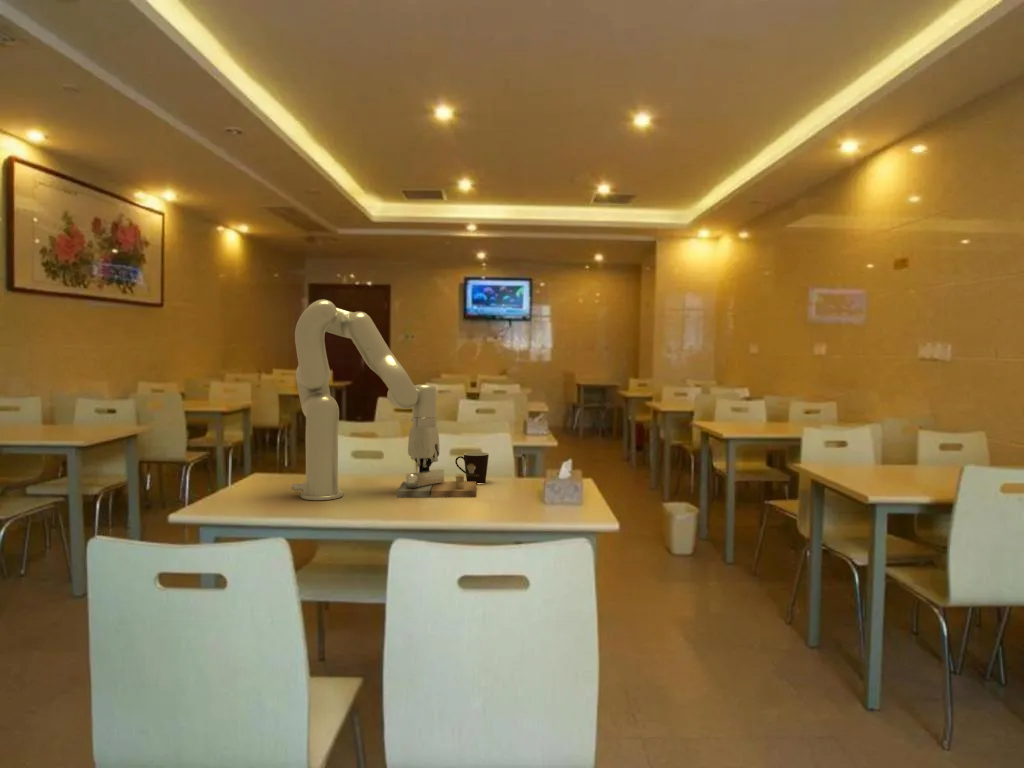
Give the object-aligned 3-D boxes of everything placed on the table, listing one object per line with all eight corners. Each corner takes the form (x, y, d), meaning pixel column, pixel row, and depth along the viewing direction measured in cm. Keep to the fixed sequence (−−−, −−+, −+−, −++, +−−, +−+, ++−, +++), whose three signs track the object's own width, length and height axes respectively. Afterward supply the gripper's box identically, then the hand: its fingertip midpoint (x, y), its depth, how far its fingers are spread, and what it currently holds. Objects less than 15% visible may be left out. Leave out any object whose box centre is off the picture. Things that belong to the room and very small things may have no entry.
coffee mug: (493, 483, 235) (493, 454, 235) (473, 486, 230) (473, 456, 229) (473, 478, 244) (473, 450, 244) (453, 481, 238) (453, 452, 238)
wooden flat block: (397, 497, 210) (397, 477, 210) (403, 487, 226) (403, 469, 226) (475, 497, 211) (475, 477, 211) (476, 487, 227) (476, 469, 227)
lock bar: (411, 488, 212) (411, 475, 212) (403, 487, 215) (403, 474, 214) (445, 481, 224) (445, 469, 224) (437, 480, 226) (437, 468, 226)
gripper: (399, 422, 224) (399, 478, 225) (434, 424, 216) (434, 483, 216) (414, 420, 230) (414, 475, 231) (449, 423, 222) (449, 479, 223)
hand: (424, 478), depth 224 cm, fingers closed
